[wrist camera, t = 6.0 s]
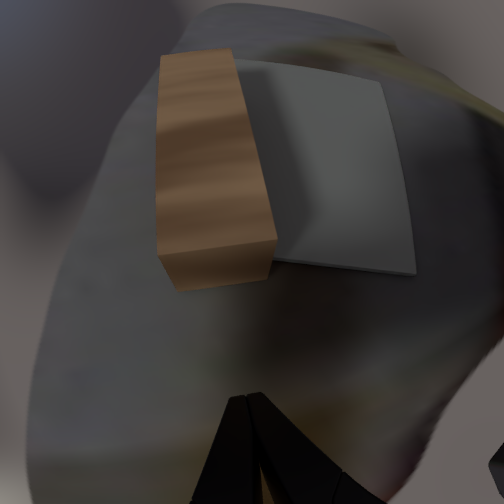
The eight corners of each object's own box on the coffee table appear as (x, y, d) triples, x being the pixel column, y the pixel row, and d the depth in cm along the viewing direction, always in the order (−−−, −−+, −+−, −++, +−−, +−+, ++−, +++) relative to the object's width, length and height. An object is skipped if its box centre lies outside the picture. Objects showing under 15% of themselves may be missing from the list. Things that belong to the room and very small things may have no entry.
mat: (413, 276, 17) (416, 274, 17) (167, 247, 17) (165, 244, 17) (379, 85, 24) (380, 82, 24) (222, 62, 25) (222, 58, 24)
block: (277, 239, 12) (230, 47, 18) (157, 255, 12) (161, 56, 17) (267, 279, 16) (230, 98, 22) (178, 292, 16) (169, 105, 21)
